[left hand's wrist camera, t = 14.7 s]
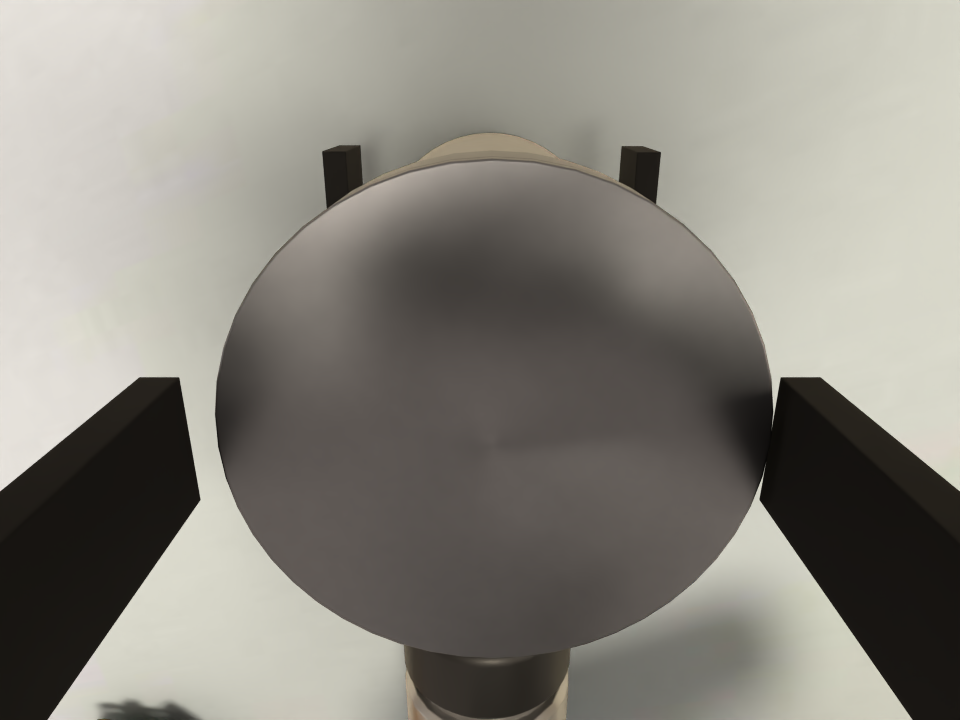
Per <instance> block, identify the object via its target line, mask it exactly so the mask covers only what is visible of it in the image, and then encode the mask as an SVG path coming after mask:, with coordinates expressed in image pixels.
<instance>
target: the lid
mask: <svg viewBox="0 0 960 720" xmlns="http://www.w3.org/2000/svg"><path fill="white" fill-rule="evenodd" d="M215 418H216V428H217V439H218V448H219V452H220V456H221V460H222V464H223V468H224V472H225V476H226V479H227V482H228V484H229V487H230V489H231V492H232V494H233V497H234V500H235V502H236V505H237V507H238V509H239V511H240V512H241V514H242V516H243V518H244V520H245V521H246V523H247V525H248V527H249V528H250V530H251V532H252V534H253V535H254V537H255V538H256V539H257V541H258V542H259V543H260V545H261V546H262V547H263V549H264V550H265V551H266V553H267V554H268V555H269V557H270V558H271V559H272V561H273V562H274V563H275V564H276V565H277V566H278V567H279V568H280V569H281V570H282V571H283V572H284V573H285V574H286V575H287V576H288V577H289V578H290V579H291V580H292V581H293V582H294V583H295V584H296V585H297V586H299V587H300V588H301V589H302V590H303V591H305V592H306V593H307V594H308V595H309V596H311V597H312V598H313V599H314V600H316V601H317V602H318V603H320V604H321V605H323V606H324V607H326V608H327V609H329V610H331V611H332V612H334V613H335V614H337V615H338V616H340V617H341V618H343V619H345V620H347V621H349V622H351V623H353V624H355V625H357V626H359V627H361V628H363V629H365V630H367V631H369V632H371V633H373V634H376V635H378V636H381V637H384V638H386V639H389V640H392V641H394V642H397V643H400V644H403V645H407V646H411V647H415V648H419V649H422V650H426V651H430V652H436V653H443V654H449V655H456V656H463V657H482V658H504V657H524V656H531V655H538V654H544V653H551V652H557V651H561V650H565V649H568V648H572V647H576V646H580V645H584V644H587V643H590V642H593V641H595V640H598V639H601V638H603V637H606V636H609V635H611V634H614V633H616V632H618V631H620V630H622V629H624V628H626V627H628V626H630V625H632V624H634V623H636V622H638V621H640V620H642V619H644V618H646V617H647V616H649V615H651V614H652V613H654V612H655V611H657V610H658V609H660V608H661V607H663V606H664V605H666V604H668V603H669V602H671V601H672V600H673V599H674V598H675V597H677V596H678V595H679V594H680V593H681V592H683V591H684V590H685V589H686V588H688V587H689V586H690V585H691V584H692V583H694V582H695V581H696V580H697V579H698V578H699V577H700V576H701V575H702V573H703V572H704V571H705V570H706V569H707V568H708V567H709V566H710V565H711V564H712V563H713V562H714V561H715V560H716V559H717V557H718V556H719V555H720V553H721V552H722V551H723V549H724V548H725V547H726V545H727V544H728V543H729V541H730V540H731V539H732V537H733V536H734V535H735V533H736V531H737V530H738V528H739V526H740V524H741V523H742V521H743V519H744V517H745V515H746V514H747V512H748V510H749V508H750V507H751V504H752V502H753V499H754V497H755V494H756V492H757V489H758V487H759V484H760V482H761V479H762V476H763V472H764V468H765V464H766V460H767V456H768V452H769V448H770V441H771V430H772V419H773V399H772V381H771V374H770V369H769V365H768V360H767V355H766V350H765V345H764V342H763V340H762V337H761V334H760V332H759V329H758V326H757V324H756V321H755V318H754V316H753V313H752V311H751V309H750V307H749V306H748V304H747V302H746V300H745V298H744V297H743V295H742V293H741V291H740V289H739V288H738V286H737V284H736V282H735V280H734V279H733V278H732V277H731V275H730V274H729V273H728V271H727V270H726V269H725V268H724V266H723V265H722V264H721V262H720V261H719V260H718V259H717V257H716V256H715V255H714V253H713V252H712V251H711V250H710V249H709V248H708V247H707V246H706V245H705V244H704V243H703V242H702V241H701V240H700V239H699V238H698V237H697V236H695V235H694V234H693V233H692V232H691V231H690V230H689V229H688V228H687V227H686V226H685V225H684V224H683V223H681V222H680V221H678V220H677V219H676V218H674V217H673V216H671V215H670V214H669V213H667V212H666V211H664V210H663V209H662V208H660V207H659V206H657V205H656V204H654V203H653V202H652V201H650V200H649V199H647V198H646V197H644V196H643V195H641V194H639V193H638V192H636V191H635V190H633V189H632V188H630V187H628V186H626V185H624V184H622V183H620V182H618V181H616V180H614V179H612V178H610V177H609V176H607V175H605V174H603V173H601V172H598V171H595V170H593V169H590V168H587V167H584V166H581V165H578V164H575V163H572V162H570V161H567V160H563V159H558V158H553V157H548V156H543V155H538V154H533V153H526V152H509V151H492V150H491V151H478V152H465V153H454V154H449V155H444V156H440V157H435V158H431V159H426V160H421V161H417V162H415V163H412V164H409V165H406V166H404V167H401V168H398V169H395V170H393V171H390V172H387V173H385V174H382V175H381V176H379V177H377V178H375V179H373V180H371V181H369V182H368V183H366V184H364V185H362V186H360V187H358V188H356V189H354V190H353V191H351V192H350V193H348V194H347V195H346V196H344V197H343V198H341V199H340V200H339V201H337V202H336V203H334V204H333V205H332V206H330V207H329V208H328V209H326V210H325V211H323V212H322V213H321V214H319V215H318V216H317V217H315V218H314V219H312V220H311V221H310V222H308V223H307V224H306V225H304V226H303V227H302V228H301V229H300V230H299V231H298V232H297V233H296V234H295V235H294V236H293V237H292V238H291V239H290V240H288V241H287V242H286V243H285V244H284V245H283V246H282V247H281V248H280V249H279V250H278V251H277V252H276V253H275V254H274V256H273V257H272V258H271V260H270V261H269V262H268V264H267V265H266V266H265V268H264V269H263V270H262V272H261V273H260V274H259V276H258V277H257V278H256V279H255V281H254V282H253V283H252V285H251V287H250V289H249V291H248V293H247V294H246V296H245V298H244V300H243V302H242V304H241V305H240V307H239V309H238V311H237V313H236V315H235V317H234V320H233V323H232V326H231V328H230V331H229V334H228V336H227V339H226V342H225V345H224V347H223V352H222V357H221V362H220V367H219V372H218V377H217V386H216V406H215Z"/></svg>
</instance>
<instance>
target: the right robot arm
mask: <svg viewBox="0 0 960 720" xmlns="http://www.w3.org/2000/svg"><path fill="white" fill-rule="evenodd" d="M322 154H323V166H324V179H325V191H326V204H327V209H328V208H329V207H330V206H332V205H333V204H334V203H336V202H337V201H339V200H340V199H341V198H343V197H344V196H346V195H347V194H348V193H350V192H351V191H353V190H354V189H356V188H358V187H360V186H362V185H363V181H362V165H361V148H360V146H359V145H339V146H336V147H334V148H331V149H328V150H325V151H322ZM660 156H661V152H658V151H655V150H652V149H649V148H646V147H643V146H622V148H621V162H620V175H619V182H620V183H622V184H624V185H626V186H628V187H630V188H632V189H633V190H635V191H636V192H638V193H639V194H641V195H643V196H644V197H646V198H647V199H649V200H650V201H652V202H653V203H654V204H656V198H657V187H658V177H659V167H660ZM404 653H405V664H406V668H407V669H406V675H405V678H406V692H407V707H408V720H566V711H567V697H568V667H569V661H570V648H568V649H565V650H561V651H557V652H551V653H544V654H538V655H531V656H524V657H504V658H482V657H463V656H456V655H449V654H443V653H436V652H430V651H426V650H422V649H419V648H415V647H411V646H407V645H404Z"/></svg>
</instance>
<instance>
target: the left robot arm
mask: <svg viewBox="0 0 960 720" xmlns="http://www.w3.org/2000/svg"><path fill="white" fill-rule="evenodd" d="M199 501H200V494H199V489H198V483H197V477H196V471H195V466H194V460H193V454H192V448H191V443H190V437H189V431H188V425H187V419H186V414H185V408H184V402H183V396H182V391H181V385H180V379H179V377H139V378H138V379H137V380H136V381H135V382H133V383H132V384H131V385H130V386H128V387H127V388H126V389H125V390H124V391H122V392H121V393H120V394H119V395H117V396H116V397H115V398H114V399H113V400H111V401H110V402H109V403H108V404H106V405H105V406H104V407H103V408H102V409H100V410H99V411H98V412H97V413H95V414H94V415H93V416H92V417H91V418H89V419H88V420H87V421H86V422H85V423H83V424H82V425H81V426H80V427H78V428H77V429H76V430H75V431H74V432H72V433H71V434H70V435H69V436H67V437H66V438H65V439H64V440H63V441H61V442H60V443H59V444H58V445H56V446H55V447H54V448H53V449H52V450H50V451H49V452H48V453H47V454H45V455H44V456H43V457H42V458H41V459H39V460H38V461H37V462H36V463H34V464H33V465H32V466H31V467H30V468H28V469H27V470H26V471H25V472H23V473H22V474H21V475H20V476H19V477H17V478H16V479H15V480H14V481H12V482H11V483H10V484H9V485H8V486H6V487H5V488H4V489H3V490H1V491H0V720H48V718H49V717H50V715H51V714H52V712H53V711H54V709H55V708H56V707H57V705H58V704H59V702H60V701H61V699H62V698H63V697H64V695H65V694H66V692H67V691H68V689H69V688H70V687H71V685H72V684H73V682H74V681H75V679H76V678H77V676H78V675H79V674H80V672H81V671H82V669H83V668H84V666H85V665H86V664H87V662H88V661H89V659H90V658H91V656H92V655H93V653H94V652H95V651H96V649H97V648H98V646H99V645H100V643H101V642H102V641H103V639H104V638H105V636H106V635H107V633H108V632H109V631H110V629H111V628H112V626H113V625H114V623H115V622H116V620H117V619H118V618H119V616H120V615H121V613H122V612H123V610H124V609H125V608H126V606H127V605H128V603H129V602H130V600H131V599H132V597H133V596H134V595H135V593H136V592H137V590H138V589H139V587H140V586H141V585H142V583H143V582H144V580H145V579H146V577H147V576H148V575H149V573H150V572H151V570H152V569H153V567H154V566H155V564H156V563H157V562H158V560H159V559H160V557H161V556H162V554H163V553H164V552H165V550H166V549H167V547H168V546H169V544H170V543H171V541H172V540H173V539H174V537H175V536H176V534H177V533H178V531H179V530H180V529H181V527H182V526H183V524H184V523H185V521H186V520H187V519H188V517H189V516H190V514H191V513H192V511H193V510H194V508H195V507H196V506H197V504H198V503H199ZM760 501H761V503H762V504H763V506H764V507H765V508H766V510H767V511H768V513H769V514H770V516H771V517H772V519H773V520H774V521H775V523H776V524H777V526H778V527H779V529H780V530H781V531H782V533H783V534H784V536H785V537H786V539H787V540H788V542H789V543H790V544H791V546H792V547H793V549H794V550H795V552H796V553H797V554H798V556H799V557H800V559H801V560H802V562H803V563H804V564H805V566H806V567H807V569H808V570H809V572H810V573H811V575H812V576H813V577H814V579H815V580H816V582H817V583H818V585H819V586H820V587H821V589H822V590H823V592H824V593H825V595H826V596H827V597H828V599H829V600H830V602H831V603H832V605H833V606H834V608H835V609H836V610H837V612H838V613H839V615H840V616H841V618H842V619H843V620H844V622H845V623H846V625H847V626H848V628H849V629H850V631H851V632H852V633H853V635H854V636H855V638H856V639H857V641H858V642H859V643H860V645H861V646H862V648H863V649H864V651H865V652H866V653H867V655H868V656H869V658H870V659H871V661H872V662H873V664H874V665H875V666H876V668H877V669H878V671H879V672H880V674H881V675H882V676H883V678H884V679H885V681H886V682H887V684H888V685H889V687H890V688H891V689H892V691H893V692H894V694H895V695H896V697H897V698H898V699H899V701H900V702H901V704H902V705H903V707H904V708H905V709H906V711H907V712H908V714H909V715H910V717H911V718H912V720H960V491H959V490H957V489H956V488H955V487H954V486H952V485H951V484H950V483H949V482H948V481H946V480H945V479H944V478H943V477H941V476H940V475H939V474H938V473H937V472H935V471H934V470H933V469H932V468H930V467H929V466H928V465H927V464H926V463H924V462H923V461H922V460H921V459H919V458H918V457H917V456H916V455H915V454H913V453H912V452H911V451H910V450H908V449H907V448H906V447H905V446H904V445H902V444H901V443H900V442H899V441H897V440H896V439H895V438H894V437H893V436H891V435H890V434H889V433H888V432H886V431H885V430H884V429H883V428H882V427H880V426H879V425H878V424H877V423H875V422H874V421H873V420H872V419H871V418H869V417H868V416H867V415H866V414H864V413H863V412H862V411H861V410H860V409H858V408H857V407H856V406H855V405H854V404H852V403H851V402H850V401H849V400H847V399H846V398H845V397H844V396H843V395H841V394H840V393H839V392H838V391H836V390H835V389H834V388H833V387H832V386H830V385H829V384H828V383H827V382H825V381H824V380H823V379H822V378H821V377H781V379H780V385H779V391H778V396H777V402H776V408H775V414H774V419H773V425H772V431H771V441H770V448H769V452H768V456H767V460H766V466H765V471H764V477H763V483H762V489H761V494H760Z"/></svg>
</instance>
